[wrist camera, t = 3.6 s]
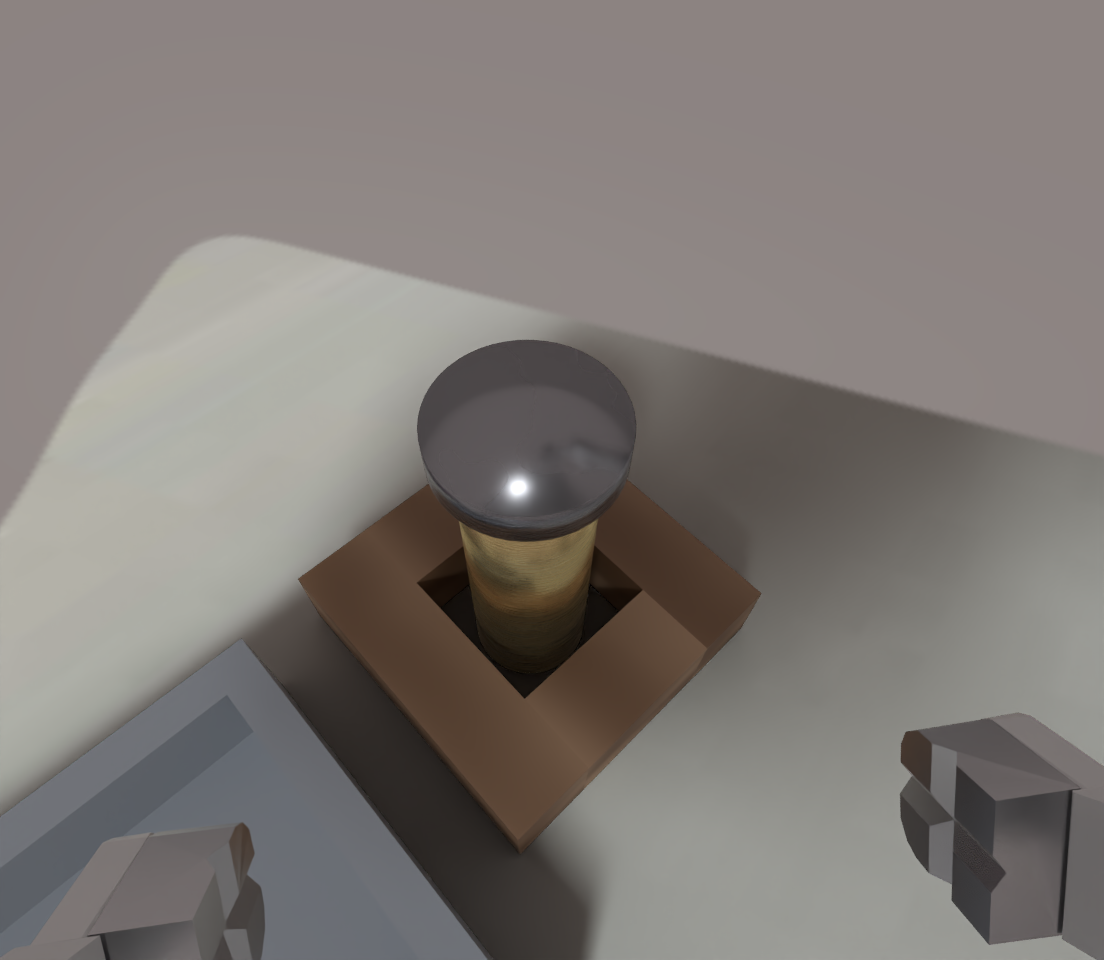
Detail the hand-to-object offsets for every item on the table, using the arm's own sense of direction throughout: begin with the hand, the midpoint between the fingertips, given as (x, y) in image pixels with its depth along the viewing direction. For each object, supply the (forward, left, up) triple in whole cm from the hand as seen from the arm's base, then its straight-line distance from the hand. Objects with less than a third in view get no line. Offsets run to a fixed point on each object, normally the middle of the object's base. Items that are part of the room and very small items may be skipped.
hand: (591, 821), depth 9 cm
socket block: (-4, -6, -12) cm, 14 cm away
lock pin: (-4, -6, -12) cm, 14 cm away
